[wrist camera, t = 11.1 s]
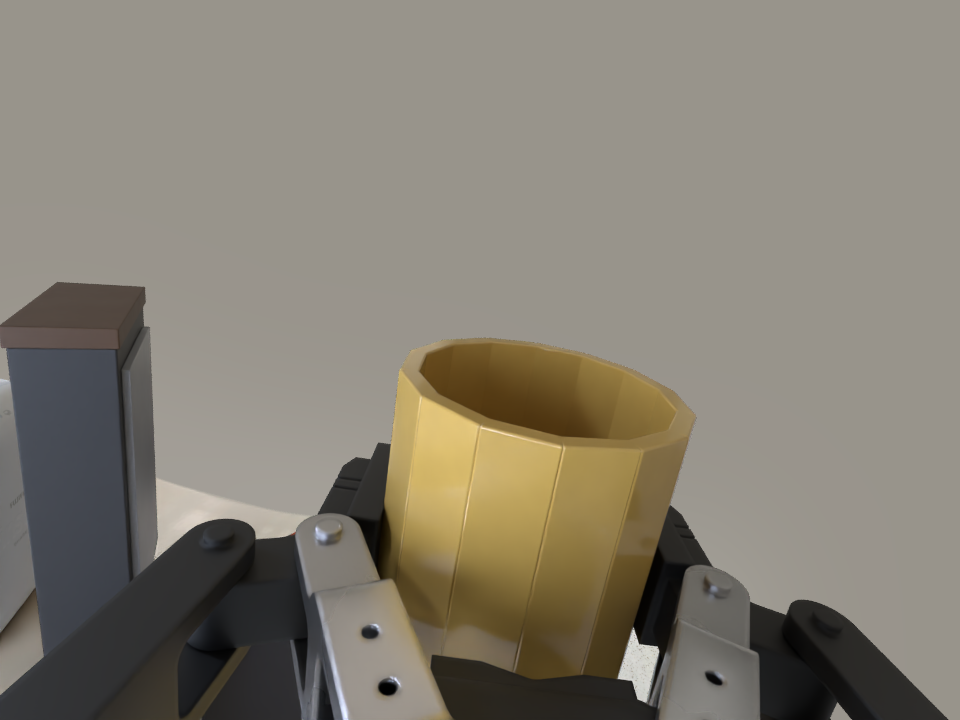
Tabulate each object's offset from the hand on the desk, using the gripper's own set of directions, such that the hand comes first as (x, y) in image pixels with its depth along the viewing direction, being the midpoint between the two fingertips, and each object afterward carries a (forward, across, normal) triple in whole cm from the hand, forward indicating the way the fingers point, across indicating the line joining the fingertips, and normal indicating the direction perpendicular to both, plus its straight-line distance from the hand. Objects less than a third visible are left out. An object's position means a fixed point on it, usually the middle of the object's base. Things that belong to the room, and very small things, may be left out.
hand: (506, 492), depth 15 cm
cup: (-2, 0, +6) cm, 7 cm away
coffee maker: (+7, +10, +15) cm, 19 cm away
